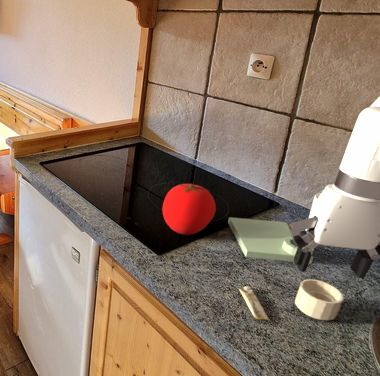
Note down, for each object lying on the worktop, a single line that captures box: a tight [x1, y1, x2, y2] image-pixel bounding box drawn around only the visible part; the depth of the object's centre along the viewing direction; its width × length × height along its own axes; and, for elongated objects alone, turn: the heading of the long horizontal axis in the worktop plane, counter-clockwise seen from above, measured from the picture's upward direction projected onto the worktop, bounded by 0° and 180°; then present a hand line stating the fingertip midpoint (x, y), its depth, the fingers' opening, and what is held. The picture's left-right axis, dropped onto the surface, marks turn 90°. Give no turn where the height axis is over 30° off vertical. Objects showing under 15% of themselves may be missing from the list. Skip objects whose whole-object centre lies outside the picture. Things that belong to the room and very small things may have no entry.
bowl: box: [294, 278, 345, 321], centre depth 76 cm, size 7×7×4 cm
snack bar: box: [236, 285, 271, 323], centre depth 77 cm, size 10×2×3 cm
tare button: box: [291, 235, 308, 247], centre depth 91 cm, size 3×3×2 cm
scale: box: [227, 216, 315, 264], centre depth 98 cm, size 14×16×4 cm
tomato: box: [162, 182, 217, 236], centre depth 100 cm, size 12×12×13 cm
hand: (327, 270), depth 73 cm, fingers open, 9 cm apart
